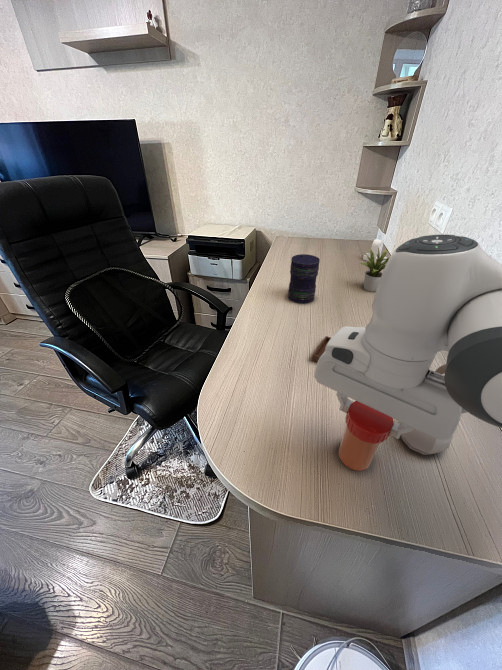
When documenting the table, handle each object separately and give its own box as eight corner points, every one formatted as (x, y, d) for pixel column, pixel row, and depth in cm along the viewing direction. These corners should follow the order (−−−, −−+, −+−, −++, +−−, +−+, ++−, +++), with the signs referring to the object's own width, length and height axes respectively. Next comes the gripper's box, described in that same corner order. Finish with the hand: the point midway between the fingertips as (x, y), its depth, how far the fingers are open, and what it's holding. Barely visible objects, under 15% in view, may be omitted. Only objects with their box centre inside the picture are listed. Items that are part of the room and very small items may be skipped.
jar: (374, 451, 53) (391, 413, 46) (365, 477, 49) (383, 439, 42) (344, 436, 55) (356, 398, 49) (333, 459, 51) (345, 422, 45)
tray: (363, 354, 76) (365, 348, 75) (353, 376, 69) (355, 370, 68) (324, 341, 81) (325, 335, 80) (311, 360, 74) (312, 354, 73)
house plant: (391, 301, 102) (405, 257, 92) (352, 294, 106) (361, 252, 97) (390, 285, 113) (403, 245, 103) (355, 280, 117) (364, 241, 108)
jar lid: (340, 408, 49) (343, 399, 48) (380, 408, 49) (383, 399, 47) (352, 444, 43) (355, 434, 42) (396, 444, 43) (401, 434, 42)
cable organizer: (366, 256, 141) (371, 236, 135) (386, 261, 136) (392, 240, 130) (362, 259, 138) (366, 238, 132) (382, 264, 132) (388, 243, 127)
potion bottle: (449, 437, 55) (495, 370, 45) (436, 469, 50) (485, 401, 39) (403, 413, 60) (435, 347, 50) (387, 439, 55) (419, 372, 44)
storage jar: (319, 301, 102) (325, 262, 93) (295, 306, 99) (299, 265, 90) (306, 290, 109) (310, 252, 101) (283, 294, 107) (286, 256, 98)
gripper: (485, 376, 35) (442, 441, 43) (333, 323, 45) (320, 384, 53) (482, 407, 31) (435, 473, 39) (315, 341, 41) (305, 404, 49)
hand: (368, 421), depth 46 cm, fingers closed on jar lid, 7 cm apart
